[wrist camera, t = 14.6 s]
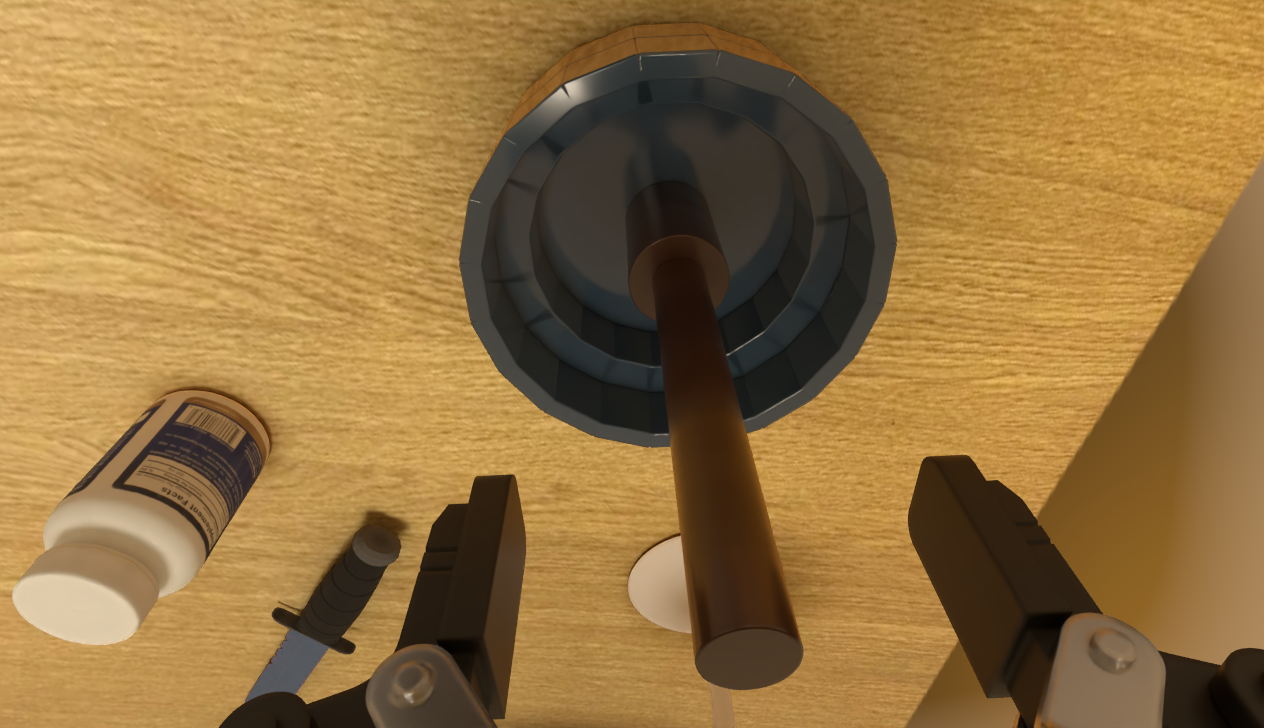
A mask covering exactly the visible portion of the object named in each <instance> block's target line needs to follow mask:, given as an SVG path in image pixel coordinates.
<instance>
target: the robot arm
mask: <svg viewBox="0 0 1264 728" xmlns="http://www.w3.org/2000/svg"><path fill="white" fill-rule="evenodd" d="M1037 523H1038V521H1037V520H1036V518H1035V517H1034V515H1033V514H1032V512H1031V511H1030V510H1029V508H1028V507H1027V505H1026V504H1025V502H1024V501H1023V500H1022V499H1021V498H1020V497H1019V496H1017V495H1016V494H1015V493H1014V492H1012V491H1011V490H1010V489H1008V488H1007V487H1006V486H1005V485H1003V484H1002V483H1001V482H999V481H998V480H993V481H986V479H985V478H984V476H983V475H982V473H981V472H980V470H979V469H978V467H977V466H976V464H975V463H974V461H973V460H972V459H971V458H970V457H969V456H967V455H951V456H929V457H926V458H924V460H923V461H922V464H921V467H920V471H919V475H918V478H917V482H916V486H915V490H914V493H913V497H912V501H911V504H910V508H909V513H908V526H909V532H910V537H911V540H912V543H913V545H914V547H915V549H916V551H917V553H918V555H919V557H920V559H921V562H922V564H923V566H924V568H925V570H926V572H927V574H928V576H929V578H930V580H931V582H932V585H933V587H934V589H935V591H936V593H937V595H938V597H939V599H940V601H941V603H942V605H943V607H944V610H945V612H946V614H947V616H948V618H949V620H950V622H951V624H952V626H953V628H954V630H955V632H956V635H957V637H958V639H959V641H960V643H961V645H962V647H963V649H964V651H965V653H966V655H967V657H968V659H969V662H970V664H971V666H972V668H973V670H974V672H975V674H976V676H977V678H978V680H979V682H980V684H981V687H982V689H983V691H984V693H985V695H986V697H987V698H1003V697H1012V699H1013V701H1014V703H1015V705H1016V707H1017V709H1018V711H1019V712H1018V714H1017V716H1016V718H1015V721H1014V725H1013V728H1264V650H1262V649H1255V648H1244V649H1239V650H1236V651H1234V652H1232V653H1231V654H1230V655H1229V656H1228V657H1227V659H1226V660H1225V661H1224V663H1223V664H1222V665H1217V664H1213V663H1208V662H1203V661H1199V660H1195V659H1190V658H1186V657H1182V656H1177V655H1173V654H1169V653H1165V652H1162V651H1158V650H1157V649H1156V648H1155V646H1154V645H1153V644H1152V643H1151V642H1150V641H1149V640H1148V639H1147V638H1146V637H1145V636H1144V635H1143V634H1141V633H1140V632H1139V631H1137V630H1136V629H1135V628H1133V627H1131V626H1130V625H1128V624H1126V623H1124V622H1122V621H1120V620H1118V619H1116V618H1113V617H1110V616H1107V615H1104V614H1103V613H1102V612H1101V611H1100V609H1099V608H1098V606H1097V605H1096V604H1095V602H1094V601H1093V599H1092V598H1091V597H1090V595H1089V594H1088V592H1087V591H1086V589H1085V588H1084V587H1083V585H1082V584H1081V582H1080V581H1079V579H1078V578H1077V577H1076V575H1075V574H1074V572H1073V571H1072V569H1071V568H1070V567H1069V565H1068V564H1067V562H1066V561H1065V559H1064V558H1063V557H1062V555H1061V554H1060V552H1059V551H1058V550H1057V548H1056V547H1055V545H1054V544H1051V543H1050V538H1049V537H1048V535H1047V534H1046V532H1045V531H1044V530H1043V528H1042V527H1041V526H1038V524H1037ZM525 557H526V534H525V526H524V520H523V515H522V509H521V503H520V498H519V492H518V487H517V481H516V478H515V475H492V476H477V477H476V478H475V479H474V482H473V486H472V491H471V495H470V499H469V503H468V504H449V505H448V506H447V507H446V509H445V510H444V511H443V512H442V514H441V515H440V516H439V517H438V519H437V520H436V521H435V522H434V524H433V525H432V528H431V532H430V535H429V539H428V542H427V545H426V553H424V556H423V559H422V563H421V566H420V572H419V573H418V577H417V580H416V584H415V587H414V590H413V594H412V597H411V601H410V604H409V608H408V611H407V615H406V618H405V622H404V625H403V629H402V632H401V635H400V639H399V642H398V645H397V647H396V649H395V651H394V653H393V654H392V655H391V656H389V657H388V658H387V659H386V660H384V661H383V662H382V663H381V664H380V665H379V667H378V668H377V669H376V670H375V672H374V673H373V675H372V677H371V678H370V679H368V680H367V681H365V682H364V683H362V684H360V685H358V686H356V687H354V688H351V689H349V690H346V691H343V692H341V693H338V694H335V695H332V696H329V697H326V698H324V699H321V700H318V701H315V702H312V703H309V704H307V705H306V703H305V702H304V701H303V700H302V699H301V698H300V697H299V696H297V695H295V694H293V693H290V692H284V691H282V692H271V693H266V694H263V695H260V696H258V697H255V698H253V699H251V700H249V701H248V702H246V703H244V704H243V705H241V706H240V707H239V708H237V709H236V710H235V711H233V712H232V713H231V714H230V715H229V716H228V717H227V718H226V719H225V720H224V722H223V723H222V724H221V725H220V727H219V728H498V727H497V726H496V724H495V723H494V721H493V719H505V712H506V704H507V697H508V689H509V681H510V674H511V666H512V658H513V651H514V643H515V635H516V628H517V620H518V612H519V604H520V597H521V589H522V581H523V574H524V566H525Z"/></svg>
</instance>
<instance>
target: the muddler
mask: <svg viewBox="0 0 1264 728" xmlns="http://www.w3.org/2000/svg"><path fill="white" fill-rule="evenodd" d="M626 244H627V264H628V284H629V291H630V295H631V297H632V300H633V302H634V303H635V305H636V306H637V307H638V309H639V310H640V311H641V312H642V313H643V314H644V315H646V316H647V317H649V318H650V319H652V320H654V321H656V322H657V331H658V340H659V348H660V357H661V366H662V375H663V384H664V393H665V401H666V410H667V419H668V428H669V437H670V446H671V455H672V463H673V472H674V481H675V490H676V499H677V508H678V517H679V525H680V534H681V543H682V552H683V561H684V570H685V579H686V587H687V596H688V605H689V614H690V623H691V632H692V641H693V649H694V658H695V665H696V668H697V670H698V672H699V673H700V675H701V676H702V677H703V678H704V679H705V680H707V681H708V682H710V683H712V684H714V685H716V686H719V687H722V688H727V689H733V690H751V689H758V688H763V687H767V686H770V685H773V684H776V683H778V682H780V681H782V680H784V679H786V678H787V677H789V676H790V675H791V674H792V673H794V672H795V671H796V670H797V668H798V667H799V665H800V664H801V662H802V658H803V646H802V642H801V638H800V634H799V630H798V627H797V623H796V619H795V615H794V611H793V607H792V604H791V600H790V596H789V592H788V588H787V585H786V581H785V577H784V573H783V569H782V566H781V562H780V558H779V554H778V550H777V546H776V543H775V539H774V535H773V531H772V527H771V524H770V520H769V516H768V512H767V508H766V505H765V501H764V497H763V493H762V489H761V485H760V482H759V478H758V474H757V470H756V466H755V463H754V459H753V455H752V451H751V447H750V444H749V440H748V436H747V432H746V428H745V424H744V421H743V417H742V413H741V409H740V405H739V402H738V398H737V394H736V390H735V386H734V383H733V379H732V375H731V371H730V367H729V363H728V360H727V356H726V352H725V348H724V344H723V341H722V337H721V333H720V329H719V325H718V322H717V318H716V314H715V309H716V308H717V307H718V306H719V305H720V304H721V302H722V301H723V299H724V297H725V295H726V293H727V290H728V286H729V268H728V265H727V262H726V259H725V256H724V253H723V250H722V247H721V244H720V241H719V238H718V235H717V232H716V229H715V226H714V223H713V220H712V217H711V214H710V211H709V208H708V205H707V203H706V201H705V199H704V198H703V197H702V195H701V194H700V193H699V192H698V191H697V190H695V189H694V188H692V187H691V186H689V185H687V184H684V183H681V182H676V181H664V182H659V183H655V184H652V185H650V186H648V187H646V188H645V189H643V190H642V191H641V192H640V193H639V194H638V195H637V196H636V197H635V198H634V199H633V201H632V202H631V204H630V206H629V208H628V211H627V214H626Z"/></svg>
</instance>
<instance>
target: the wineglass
mask: <svg viewBox="0 0 1264 728" xmlns="http://www.w3.org/2000/svg"><path fill="white" fill-rule="evenodd" d="M628 593H629V597H630V600H631V602H632V604H633V605H634V607H635V608H636V609H637V610H638V612H639V613H640V614H641V615H643V616H644V617H645V618H646V619H648V620H649V621H651V622H653V623H654V624H656V625H658V626H661V627H663V628H666V629H669V630H673V631H677V632H683V633H692V632H691V623H690V614H689V605H688V596H687V587H686V579H685V570H684V561H683V552H682V543H681V535H680V536H677V537H674V538H671V539H669V540H666V541H664V542H662V543H660V544H658V545H657V546H655V547H653V548H652V549H651V550H649V551H648V552H647V553H646V554H644V555H643V556H642V557H641V558H640V559H639V561H638V562H637V563H636V565H635V566H634V568H633V570H632V572H631V574H630V577H629V581H628ZM709 685H710V693H711V702H712V713H713V728H737V726H736V722H735V717H734V713H733V708H732V703H731V697H730V691H729V689H727V688H722V687H719V686H716V685H714V684H712V683H710V682H709Z"/></svg>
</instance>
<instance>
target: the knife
mask: <svg viewBox="0 0 1264 728" xmlns="http://www.w3.org/2000/svg"><path fill="white" fill-rule="evenodd" d="M352 544H353V545H352V546H351V547H350V549H349V550H348V551H347V552H346V553H345V554H344V555H343V557H342V558H341V559H340V560H339V561H338V562H337V563H336V564H335V566H334V567H333V568H332V569H331V570H330V572H329V573H328V574H327V575H326V577H325V578H324V579H323V580H322V582H321V583H320V585H319V586H318V587H317V589H316V590H315V591H314V594H313V595H312V597H311V599H310V600H309V602H308V604H307V605H306V608H305V609H304V611H303V612H302V614H301V617H299V616H297V615H295V614H293V613H291V612H289V611H287V610H285V609H283V608H279V607H277V608H275V609H274V611H273V612H272V617H273V619H274V620H275V621H276V622H278V623H279V624H281V625H283V626H285V627H288V628H290V631H289V632H288V634H287V635H286V639H287V641H283V643H282V644H281V647H282V649H278V651H277V652H276V655H277V656H273V659H272V660H271V662H272V664H268V665H267V667H266V668H265V670H264V671H263V673H262V674H261V676H260V678H259V679H258V681H257V682H256V684H255V685H254V687H253V688H252V690H251V692H250V693H249V695H248V696H247V698H246V700H245V703H246V702H248V701H249V700H251V699H253V698H255V697H258V696H260V695H263V694H266V693H271V692H282V691H284V692H290V693H293V694H296V693H297V691H298V690H299V689H300V687H301V686H302V684H303V683H304V682H305V680H306V679H307V677H308V676H309V675H310V673H311V672H312V671H313V669H314V668H315V666H316V665H317V664H318V662H319V661H320V660H321V658H322V657H323V655H324V654H325V653H326V651H327V650H328V648H331V649H333V650H335V651H337V652H339V653H343V654H352V653H353V652H354V650H355V648H356V646H355V644H354V643H352V642H350V641H348V640H347V639H344V638H342V635H343V634H344V633H345V632H346V631H347V629H348V628H349V627H350V626H351V625H352V623H353V622H354V621H355V620H356V618H357V617H358V616H359V615H360V613H361V612H362V610H363V609H364V607H365V606H366V604H367V602H368V601H369V599H370V597H371V596H372V594H373V592H374V590H375V589H376V587H377V585H378V583H379V581H380V579H381V577H382V575H383V573H384V571H385V569H386V568H387V566H388V565H389V564H391V563H393V562H394V561H395V560H396V559H397V558H398V556H399V553H400V549H401V544H400V540H399V539H398V537H397V536H396V535H395V534H394V533H392V532H391V531H389V530H388V529H386V528H383V527H381V526H377V525H366V526H363V527H362V528H361V529H360V530H359V531H358V532H356V533H355V535H354V538H353V542H352Z"/></svg>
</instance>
